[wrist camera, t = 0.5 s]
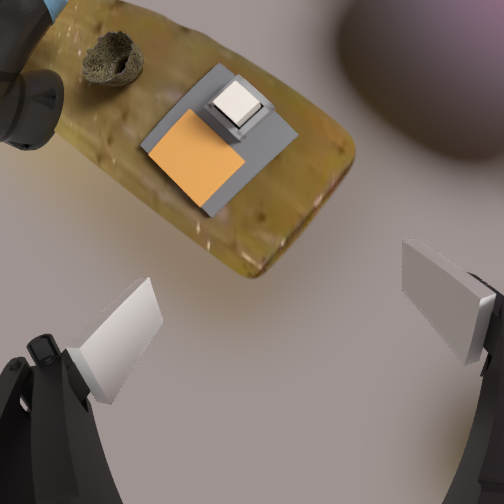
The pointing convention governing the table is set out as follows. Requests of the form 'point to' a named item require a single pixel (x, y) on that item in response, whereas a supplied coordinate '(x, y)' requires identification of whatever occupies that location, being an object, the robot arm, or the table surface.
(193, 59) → the table surface
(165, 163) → the plate
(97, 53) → the cup
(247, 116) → the button
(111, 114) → the table surface
